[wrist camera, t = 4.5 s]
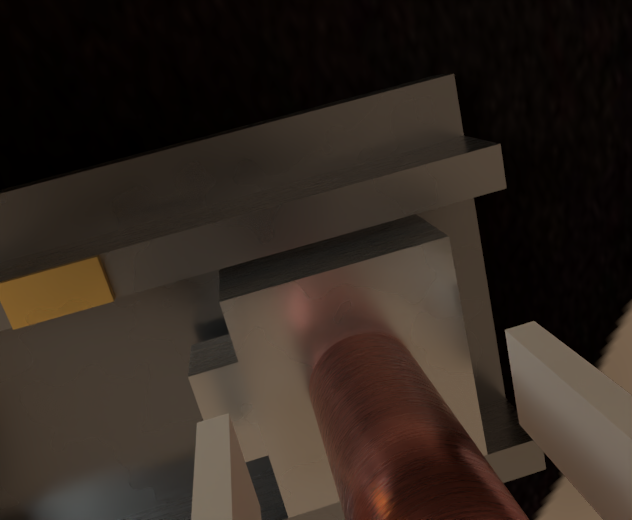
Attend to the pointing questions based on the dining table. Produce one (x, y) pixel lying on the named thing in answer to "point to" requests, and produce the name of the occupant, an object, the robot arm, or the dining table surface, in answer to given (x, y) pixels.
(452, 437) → the ram
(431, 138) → the press base
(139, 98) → the dining table surface
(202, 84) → the dining table surface
